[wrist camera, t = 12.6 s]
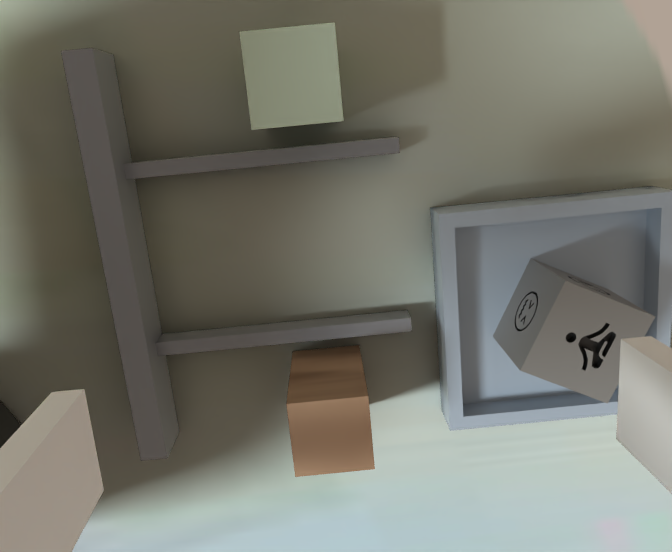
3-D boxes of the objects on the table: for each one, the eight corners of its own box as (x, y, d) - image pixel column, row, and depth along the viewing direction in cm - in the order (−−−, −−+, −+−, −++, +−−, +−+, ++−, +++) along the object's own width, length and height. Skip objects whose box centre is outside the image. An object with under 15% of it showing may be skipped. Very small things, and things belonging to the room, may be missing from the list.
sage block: (338, 121, 33) (343, 121, 26) (265, 128, 33) (251, 129, 26) (332, 43, 32) (335, 22, 25) (256, 50, 32) (239, 31, 25)
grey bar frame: (413, 408, 37) (421, 433, 34) (155, 434, 37) (141, 460, 34) (387, 27, 32) (394, 18, 29) (84, 57, 32) (61, 50, 29)
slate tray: (645, 390, 37) (667, 409, 35) (441, 410, 37) (450, 430, 35) (652, 186, 34) (677, 191, 32) (430, 207, 34) (438, 214, 32)
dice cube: (568, 365, 36) (607, 403, 31) (492, 336, 35) (520, 370, 30) (608, 289, 35) (655, 316, 30) (530, 258, 34) (565, 280, 29)
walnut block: (364, 405, 37) (374, 468, 30) (299, 412, 37) (295, 476, 30) (359, 344, 36) (368, 396, 29) (292, 351, 36) (286, 404, 29)
